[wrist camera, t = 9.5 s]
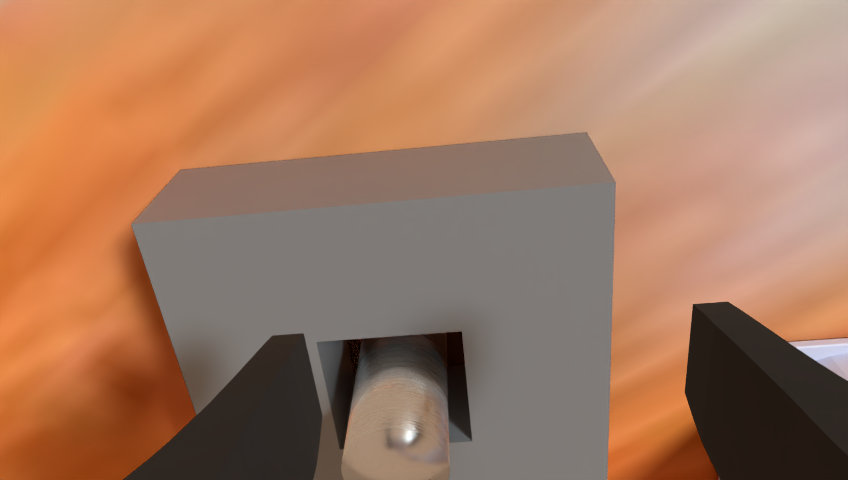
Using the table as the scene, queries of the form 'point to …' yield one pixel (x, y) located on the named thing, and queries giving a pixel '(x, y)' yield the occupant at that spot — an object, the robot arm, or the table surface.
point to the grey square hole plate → (408, 286)
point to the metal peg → (399, 410)
